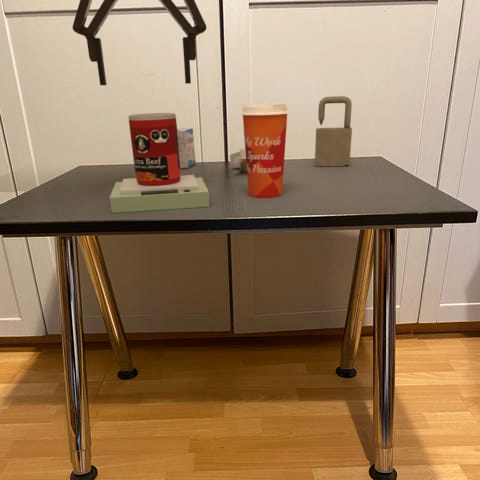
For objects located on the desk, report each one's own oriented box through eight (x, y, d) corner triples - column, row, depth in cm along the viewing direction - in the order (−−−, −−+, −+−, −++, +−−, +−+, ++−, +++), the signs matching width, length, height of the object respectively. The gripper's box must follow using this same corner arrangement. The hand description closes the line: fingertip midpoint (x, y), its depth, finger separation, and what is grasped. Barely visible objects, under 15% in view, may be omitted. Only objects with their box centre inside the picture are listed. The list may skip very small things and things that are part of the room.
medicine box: (188, 168, 117) (185, 130, 113) (170, 169, 117) (167, 131, 114) (195, 163, 124) (193, 127, 120) (179, 164, 124) (176, 128, 121)
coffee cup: (236, 197, 86) (233, 105, 79) (252, 188, 92) (250, 103, 86) (281, 200, 83) (281, 105, 76) (294, 190, 90) (296, 102, 83)
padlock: (314, 164, 118) (317, 96, 111) (348, 163, 116) (353, 95, 110) (314, 166, 114) (317, 97, 107) (349, 166, 113) (354, 96, 106)
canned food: (127, 184, 83) (118, 116, 78) (154, 177, 89) (147, 113, 85) (164, 187, 80) (157, 115, 75) (189, 179, 86) (184, 112, 82)
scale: (111, 213, 78) (108, 193, 77) (117, 195, 90) (115, 178, 89) (209, 206, 80) (208, 187, 79) (202, 190, 92) (201, 174, 91)
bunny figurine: (268, 147, 117) (273, 147, 103) (268, 169, 119) (273, 172, 105) (229, 148, 117) (229, 148, 103) (230, 170, 119) (229, 173, 105)
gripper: (214, -72, 74) (219, 82, 83) (45, -75, 70) (70, 86, 80) (220, -87, 67) (225, 82, 76) (33, -92, 64) (62, 86, 73)
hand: (146, 84), depth 78 cm, fingers open, 13 cm apart
